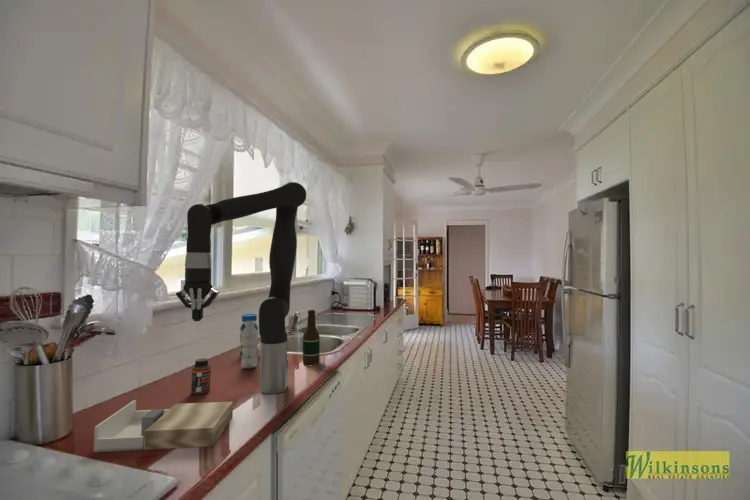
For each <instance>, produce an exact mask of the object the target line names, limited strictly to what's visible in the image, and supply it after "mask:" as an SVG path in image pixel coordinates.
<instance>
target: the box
mask: <svg viewBox="0 0 750 500" xmlns="http://www.w3.org/2000/svg"><path fill="white" fill-rule="evenodd" d="M163 409H164V408H163ZM169 409H170V408H166V409H164V414H165V413H166V412H167V411H168V410H169ZM151 410H152V409H146V410H143V409H140V410H137V399H133V400H132V401H131V402H129V403H127V404H126V405H124V406H123V407H122V408H120V409H119V410H117V411H115V413H112V414H111V415H110V416H109V417H107V418H106V419H104V420H102V421H101V422H100V423H98V424H97V425H95V426H94V435H93V437H94V438H93V440H94V441H93V453H104V452H106V453H108V452H121V451H124V452H125V451H142V450H145V437H144V436H141V428H142V417H143V416H145V415H146V414H147V413H148V412H150V411H151Z"/></svg>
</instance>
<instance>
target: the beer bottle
mask: <svg viewBox="0 0 750 500" xmlns="http://www.w3.org/2000/svg"><path fill="white" fill-rule="evenodd" d="M316 313H317V312H316V310H315V309H308V310H307V325H306V328H305V330H304V332H303V335H302V364H305V365H304V366H306V365H314V364H318V363H319V364H320V345H321V344H320V343H321V341H320V340H321V339H320V333H319V331H318V329H317V325H316ZM319 364H318V365H319Z"/></svg>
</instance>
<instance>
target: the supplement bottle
mask: <svg viewBox="0 0 750 500" xmlns="http://www.w3.org/2000/svg"><path fill="white" fill-rule="evenodd" d="M194 363H195V364H194V365H193V366H192V369H191V387H190V388H191V389H190V391H191V392H190V393H191V394H192V395H197V396H198V395H199V396H200V395H203V394H204V395H205V394H207V393H208V392H210V390H211V365H210V364H209V360H208V358H206V357H205V358H198V359H195V361H194Z"/></svg>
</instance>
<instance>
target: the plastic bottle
mask: <svg viewBox="0 0 750 500" xmlns="http://www.w3.org/2000/svg"><path fill="white" fill-rule="evenodd" d="M254 325H255V324H254V321H246V322H245V326H246V328H245V329H244V330H243V332H242V342H243V354H242V358H241V363H240V366H241V367H242V369H246V370H249V369H254V368H256V367H257V365H258V355H257V356H256V341H257V331H258V330H257V331H256V329H255V328H254Z"/></svg>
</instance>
